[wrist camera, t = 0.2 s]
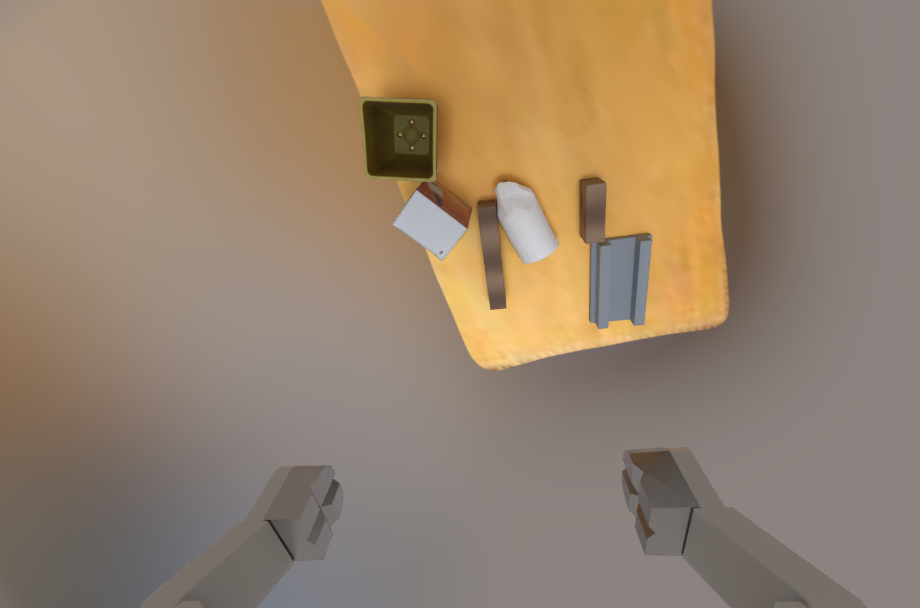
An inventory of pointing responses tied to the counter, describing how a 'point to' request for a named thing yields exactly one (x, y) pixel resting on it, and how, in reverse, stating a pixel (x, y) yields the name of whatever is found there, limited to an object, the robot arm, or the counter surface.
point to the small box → (434, 218)
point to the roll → (524, 222)
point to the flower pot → (399, 138)
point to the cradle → (619, 279)
